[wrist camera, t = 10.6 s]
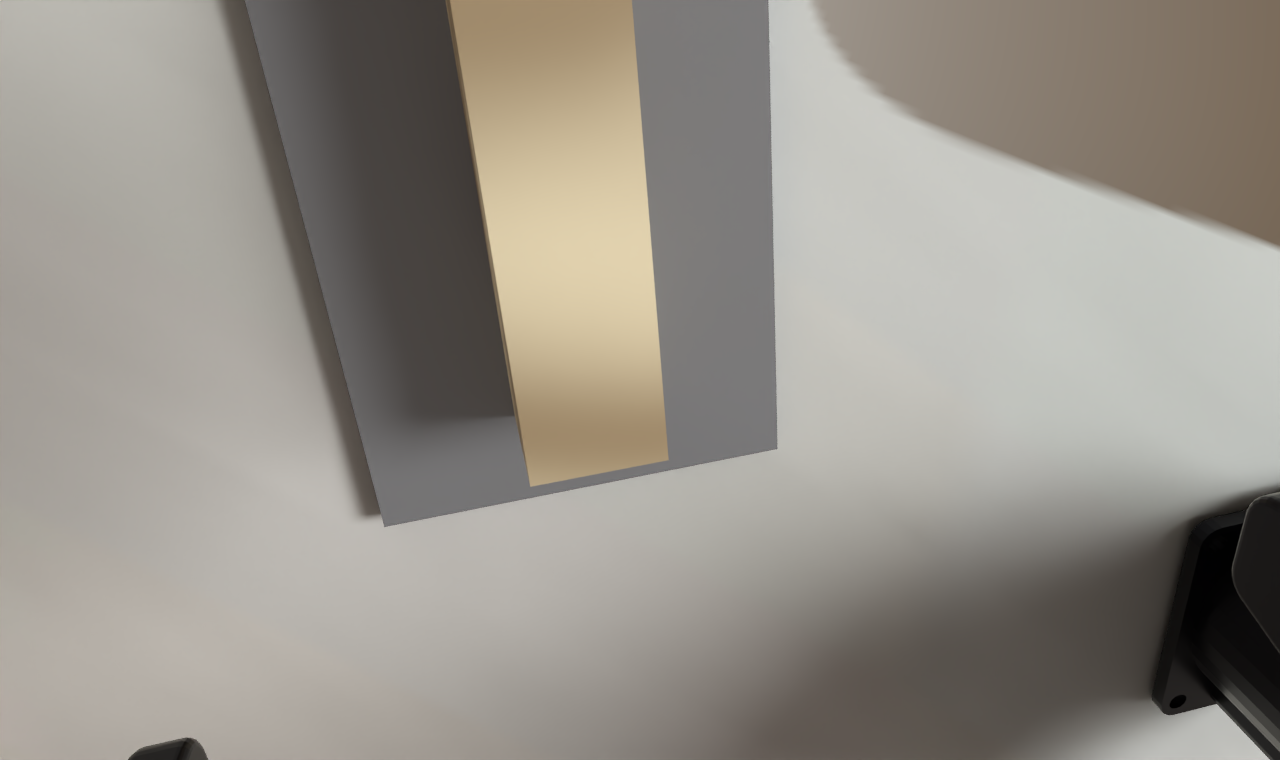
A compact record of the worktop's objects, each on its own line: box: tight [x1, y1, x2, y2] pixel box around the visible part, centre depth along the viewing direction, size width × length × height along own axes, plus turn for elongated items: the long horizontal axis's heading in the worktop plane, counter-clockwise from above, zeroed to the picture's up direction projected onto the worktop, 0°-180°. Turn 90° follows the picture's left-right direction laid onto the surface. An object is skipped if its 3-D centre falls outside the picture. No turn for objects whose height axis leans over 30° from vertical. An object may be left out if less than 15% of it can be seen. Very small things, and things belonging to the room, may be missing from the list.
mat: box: [245, 0, 777, 527], centre depth 16 cm, size 18×8×1 cm, turn 5°
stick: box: [445, 0, 669, 487], centre depth 15 cm, size 14×2×2 cm, turn 5°
